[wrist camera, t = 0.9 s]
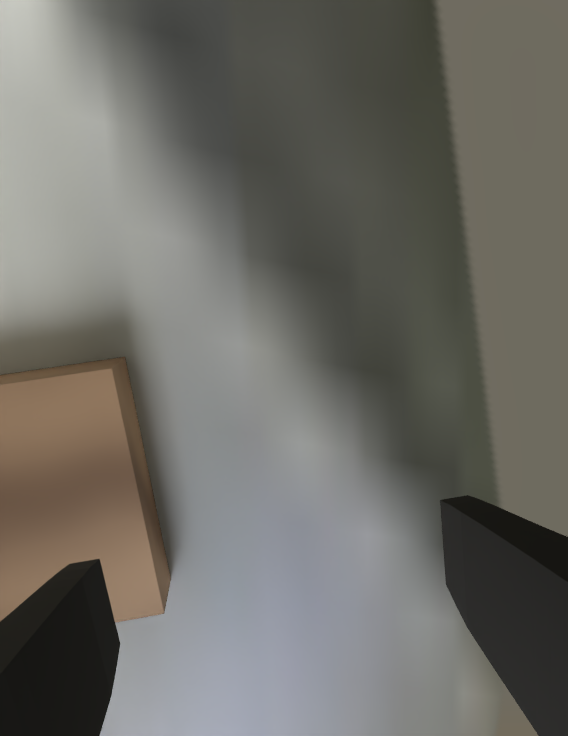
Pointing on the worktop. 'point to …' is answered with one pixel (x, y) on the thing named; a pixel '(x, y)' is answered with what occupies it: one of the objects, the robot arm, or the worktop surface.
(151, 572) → the brown wooden board
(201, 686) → the worktop surface
